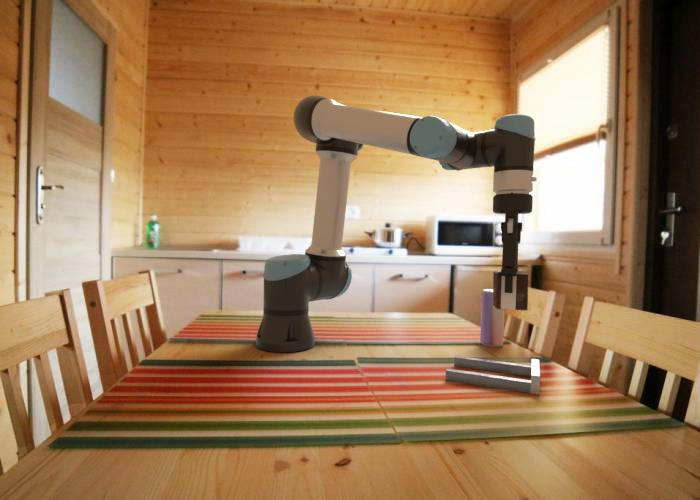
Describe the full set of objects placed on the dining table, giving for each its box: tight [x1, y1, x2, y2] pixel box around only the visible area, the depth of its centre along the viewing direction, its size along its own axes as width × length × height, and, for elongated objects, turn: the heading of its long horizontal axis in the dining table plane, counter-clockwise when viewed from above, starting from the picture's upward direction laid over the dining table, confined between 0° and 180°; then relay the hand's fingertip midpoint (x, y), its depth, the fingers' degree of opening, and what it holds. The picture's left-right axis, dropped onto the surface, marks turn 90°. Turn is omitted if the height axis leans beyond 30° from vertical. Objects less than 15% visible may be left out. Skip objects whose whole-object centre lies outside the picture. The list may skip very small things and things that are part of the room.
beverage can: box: [479, 288, 505, 348], centre depth 116 cm, size 6×6×15 cm
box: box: [492, 270, 529, 311], centre depth 87 cm, size 6×6×7 cm
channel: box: [445, 355, 541, 395], centre depth 88 cm, size 18×12×4 cm
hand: (509, 306), depth 87 cm, fingers closed on box, 7 cm apart
